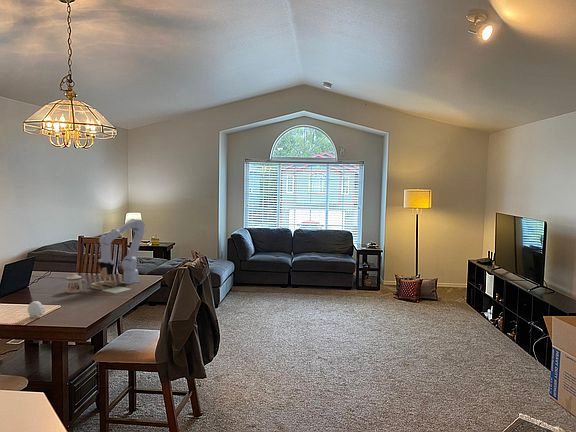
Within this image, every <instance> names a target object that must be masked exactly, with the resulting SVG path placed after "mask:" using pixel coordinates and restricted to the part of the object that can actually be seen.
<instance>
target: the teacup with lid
mask: <svg viewBox="0 0 576 432" xmlns="http://www.w3.org/2000/svg"><path fill="white" fill-rule="evenodd" d="M65 280H66V293H68V294H77V293H81V292H82V291H83V288H86V286H87V283H88V281H87V280H86V279H83V277H82V276H81V275H78V274H76V273H75V272H73V273H71V275H69V276H66V278H65ZM83 282H84V283H85V284H84V285H83V284H82V283H83Z"/></svg>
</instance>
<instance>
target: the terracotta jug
mask: <svg viewBox="0 0 576 432" xmlns="http://www.w3.org/2000/svg"><path fill="white" fill-rule="evenodd" d="M99 272H100V276H101V277H102V278H104V279H108V278H111V276H112V273H111V274H110V275H108V274H107V268H106V267H104V268H102V271H101V270H100V271H99Z"/></svg>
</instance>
